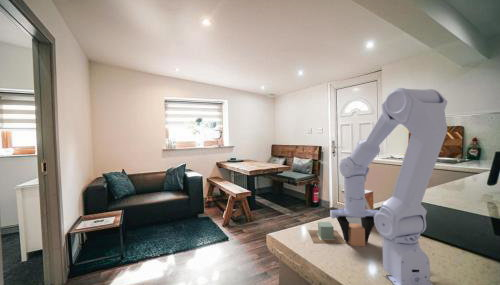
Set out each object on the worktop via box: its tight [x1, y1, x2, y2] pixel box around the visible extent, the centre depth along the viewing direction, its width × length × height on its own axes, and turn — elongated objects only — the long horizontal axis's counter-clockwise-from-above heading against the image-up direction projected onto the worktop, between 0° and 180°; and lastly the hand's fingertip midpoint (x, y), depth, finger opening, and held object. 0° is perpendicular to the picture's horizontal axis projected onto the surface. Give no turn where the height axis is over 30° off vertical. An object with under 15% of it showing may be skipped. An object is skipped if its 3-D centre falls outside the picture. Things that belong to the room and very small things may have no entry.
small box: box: [346, 189, 374, 226], centre depth 82 cm, size 8×6×13 cm
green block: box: [317, 221, 334, 239], centre depth 71 cm, size 4×4×4 cm
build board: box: [307, 229, 347, 245], centre depth 71 cm, size 10×10×1 cm
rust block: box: [348, 224, 366, 247], centre depth 66 cm, size 4×4×6 cm
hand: (355, 240), depth 66 cm, fingers open, 5 cm apart
